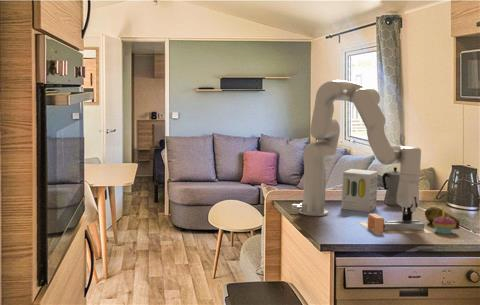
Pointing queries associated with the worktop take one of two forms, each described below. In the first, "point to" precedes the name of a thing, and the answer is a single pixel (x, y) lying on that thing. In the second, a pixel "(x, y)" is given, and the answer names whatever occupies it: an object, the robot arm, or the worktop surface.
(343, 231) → the worktop surface
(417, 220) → the jaw
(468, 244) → the worktop surface
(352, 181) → the supplement box
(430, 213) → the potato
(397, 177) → the coffeepot
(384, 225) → the fixed jaw
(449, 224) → the cupcake
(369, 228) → the board
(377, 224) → the lock collar
